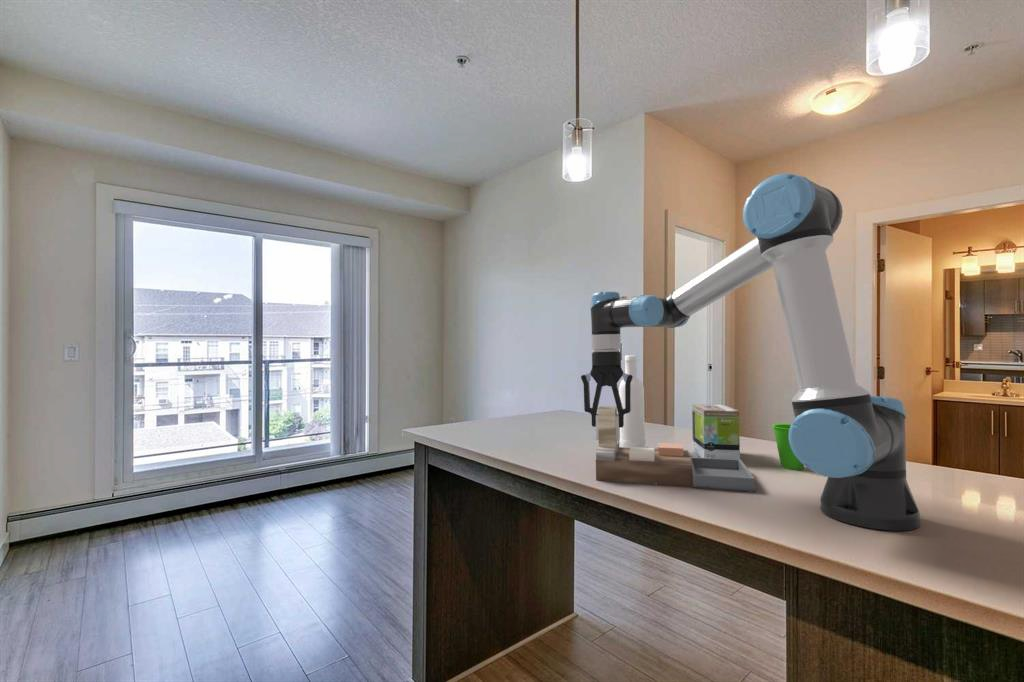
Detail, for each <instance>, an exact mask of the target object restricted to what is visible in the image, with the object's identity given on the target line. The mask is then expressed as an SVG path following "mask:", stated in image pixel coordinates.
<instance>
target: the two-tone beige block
mask: <svg viewBox="0 0 1024 682" xmlns="http://www.w3.org/2000/svg"><path fill="white" fill-rule="evenodd" d="M597 414H598V436H599V440H598V448H597V449H596V451H595V461H596V460H606V461H614V460H615V457H616V455H617V452H618V449H619V447H620V440H619V441H616V414H618V410H617V406H598V409H597Z"/></svg>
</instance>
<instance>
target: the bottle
mask: <svg viewBox="0 0 1024 682" xmlns="http://www.w3.org/2000/svg"><path fill="white" fill-rule="evenodd" d="M637 357H638V356H637V355H633V354H631V355H629V354H628V355H624V366H625V367H624V368H625V371H624V373H626V374H629V375H630V374H631V375H632V376H633V378H632V381H631V410H630V412H629V413H626V414H624V426H623V428H621V427H620V440H619V447H625V448H630V447H640V448H646V429H645V428H646V426H645V423H646V421H645V420H646V419H645V418H646V417H645V387H644V385H643V381H642V380H641V379H639V378H638V367H637V365H638V363H637V362H638V359H637ZM625 384H626V382H624V378H623V379H622V380H621V381H620V383H619V387H618V391H619V395H620V399H621V403H622V407H623V409H625Z"/></svg>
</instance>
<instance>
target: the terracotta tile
mask: <svg viewBox="0 0 1024 682" xmlns="http://www.w3.org/2000/svg"><path fill="white" fill-rule="evenodd" d="M658 449H659V455H663V456H683V457H684V454H683V450H684V446H683V443H671V442H658Z"/></svg>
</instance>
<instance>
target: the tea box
mask: <svg viewBox="0 0 1024 682" xmlns="http://www.w3.org/2000/svg"><path fill="white" fill-rule="evenodd" d="M691 409H692V410H691V411H692V412H691V413H692V414H691V415H692V418H691V419H692V420H691V421H692V451H693V450H694V451H693V452H695V453H696V454H697V456H699V458H718V459H738V460H741V457H740V456H741V455H740V452H741V450H740V447H741V441H740V436H741V435H740V434H741V433H740V432H741V431H740V410H739V409H735V408H734V407H730V406H727V405H725V404H692V408H691Z"/></svg>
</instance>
